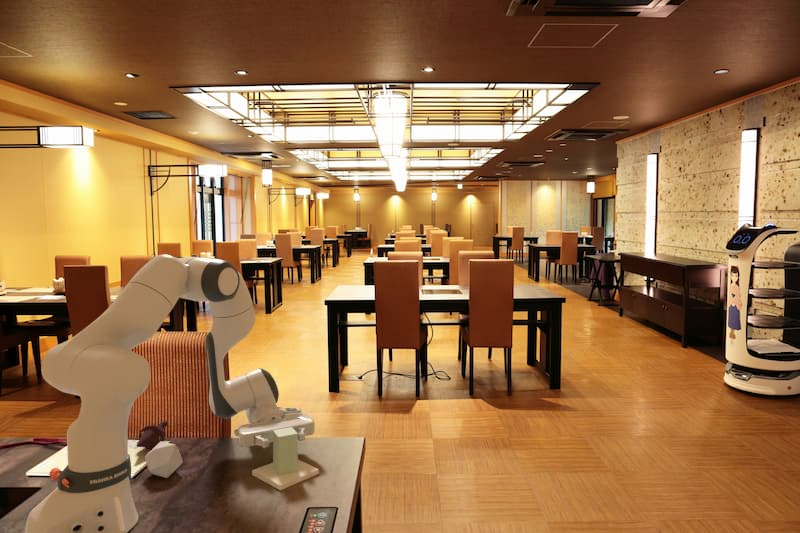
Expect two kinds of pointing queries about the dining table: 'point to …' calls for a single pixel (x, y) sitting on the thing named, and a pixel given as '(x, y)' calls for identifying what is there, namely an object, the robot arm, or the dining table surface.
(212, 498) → the dining table surface
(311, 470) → the cream tile
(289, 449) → the green block
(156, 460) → the die
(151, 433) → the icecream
